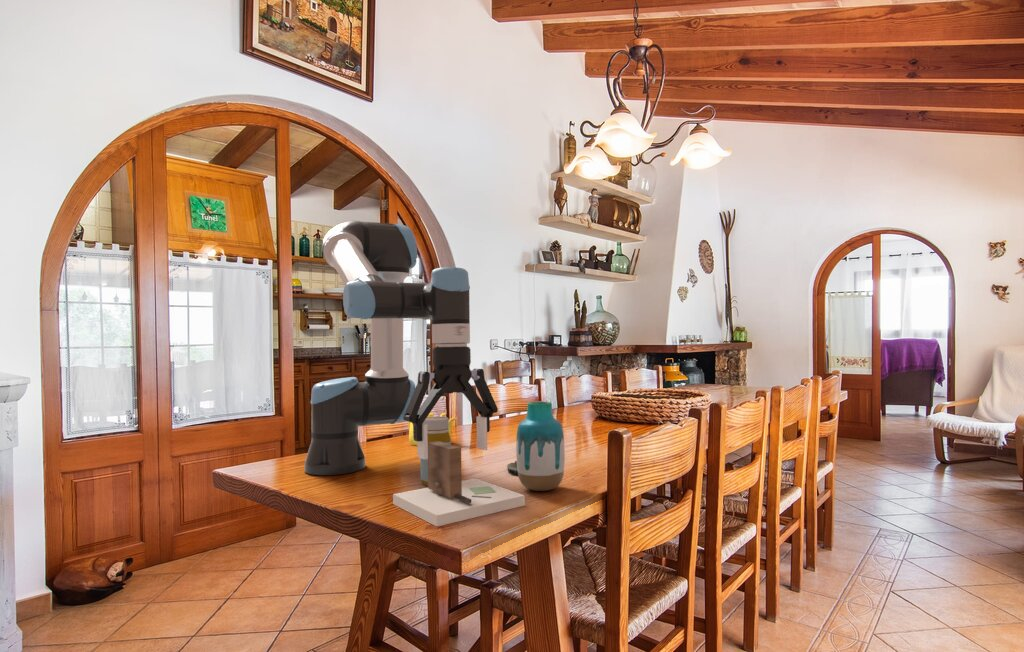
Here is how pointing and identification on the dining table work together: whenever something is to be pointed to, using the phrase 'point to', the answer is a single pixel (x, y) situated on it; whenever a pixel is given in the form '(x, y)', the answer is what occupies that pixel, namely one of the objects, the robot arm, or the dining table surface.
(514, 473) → the log
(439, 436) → the bottle
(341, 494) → the dining table surface
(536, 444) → the vase
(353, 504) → the dining table surface
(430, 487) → the brown wooden block
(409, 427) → the teapot
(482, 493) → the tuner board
